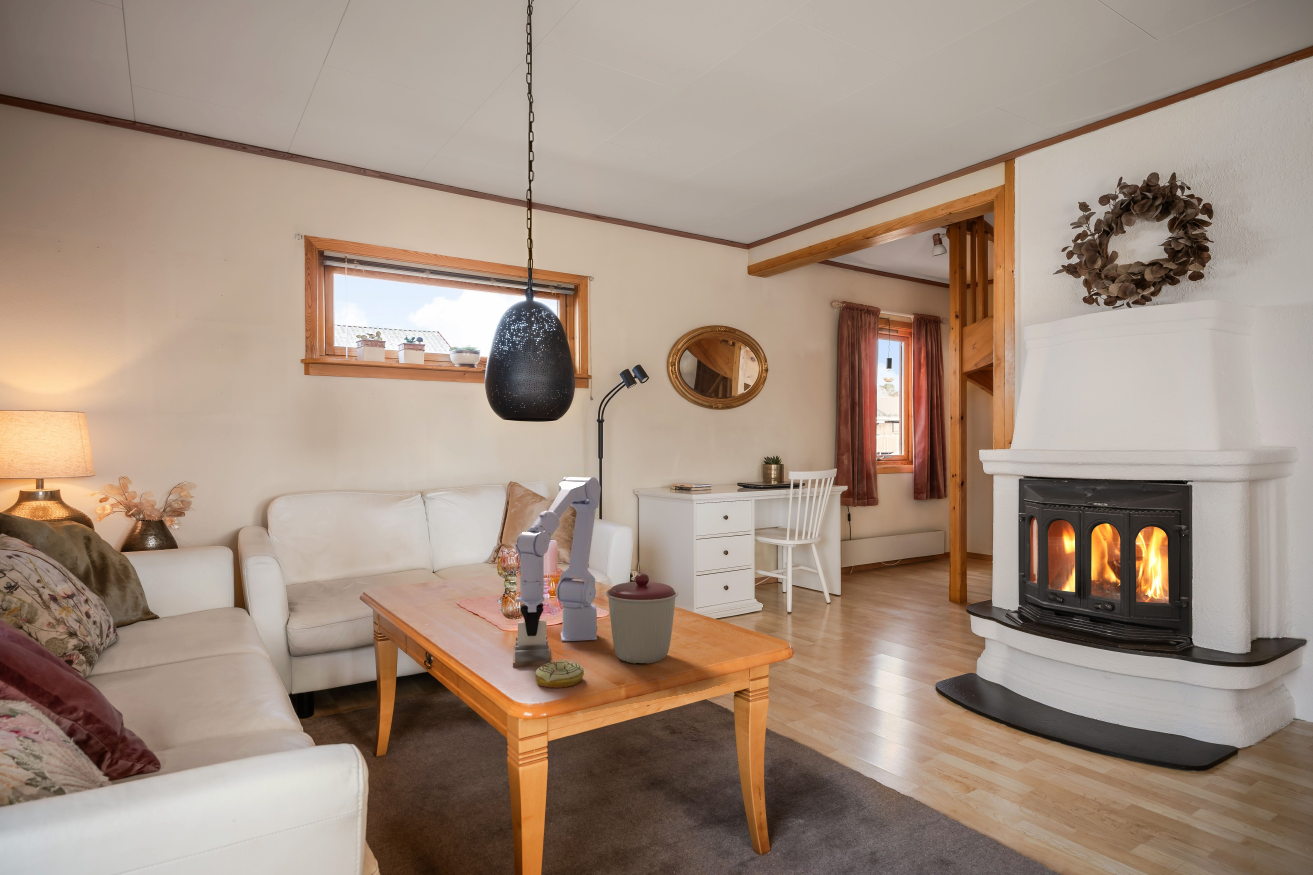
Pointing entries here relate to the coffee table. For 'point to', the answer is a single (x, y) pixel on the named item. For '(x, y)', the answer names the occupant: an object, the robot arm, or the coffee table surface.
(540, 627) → the upright cream panel
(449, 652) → the coffee table surface
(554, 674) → the decorated donut
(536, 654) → the dish rack
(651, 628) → the canister
